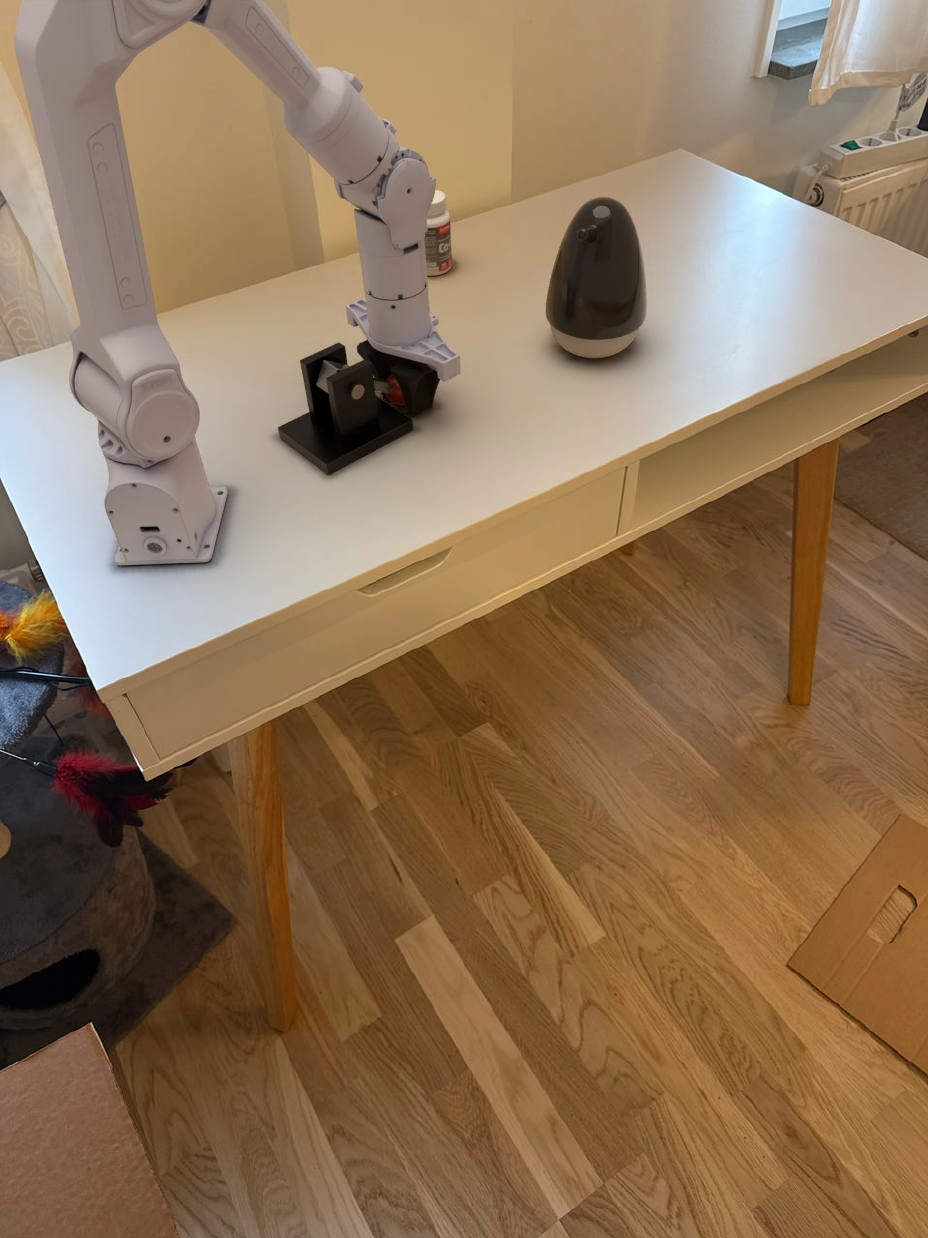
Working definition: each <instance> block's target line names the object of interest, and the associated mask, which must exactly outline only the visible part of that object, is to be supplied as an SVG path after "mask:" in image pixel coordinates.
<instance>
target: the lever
mask: <svg viewBox="0 0 928 1238" xmlns="http://www.w3.org/2000/svg"><path fill="white" fill-rule="evenodd" d="M350 366H351V365H349V364H348V365H347V364H344V363H338V362H332V361H326V360H324V361H323V364H322V367H321V370H320V373H319V377H318V380H317V383H316V385H317V386H318V387H320V388H321V389H323V390H324V391H326V392H327V393H328V387H327V381H326V378H327V377H329V376H331V375H333V374H335V373H337V372H339V371H341V370H344V369H346V368H348V367H350ZM374 385H375V393H381V392H383V393H385V394H386V396H387V398H388V399H389V400H390V401H389V402H391V403H392V404H394V405H396V406H406V405H405V400H404V396H403V393H402V390H401V388H400V386H399V384H398V382H397V380H396V378H395V377H394V375H393V374H391V375H390V376H389V377H388V378H387V380H386V379H380V378H375V377H374Z"/></svg>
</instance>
